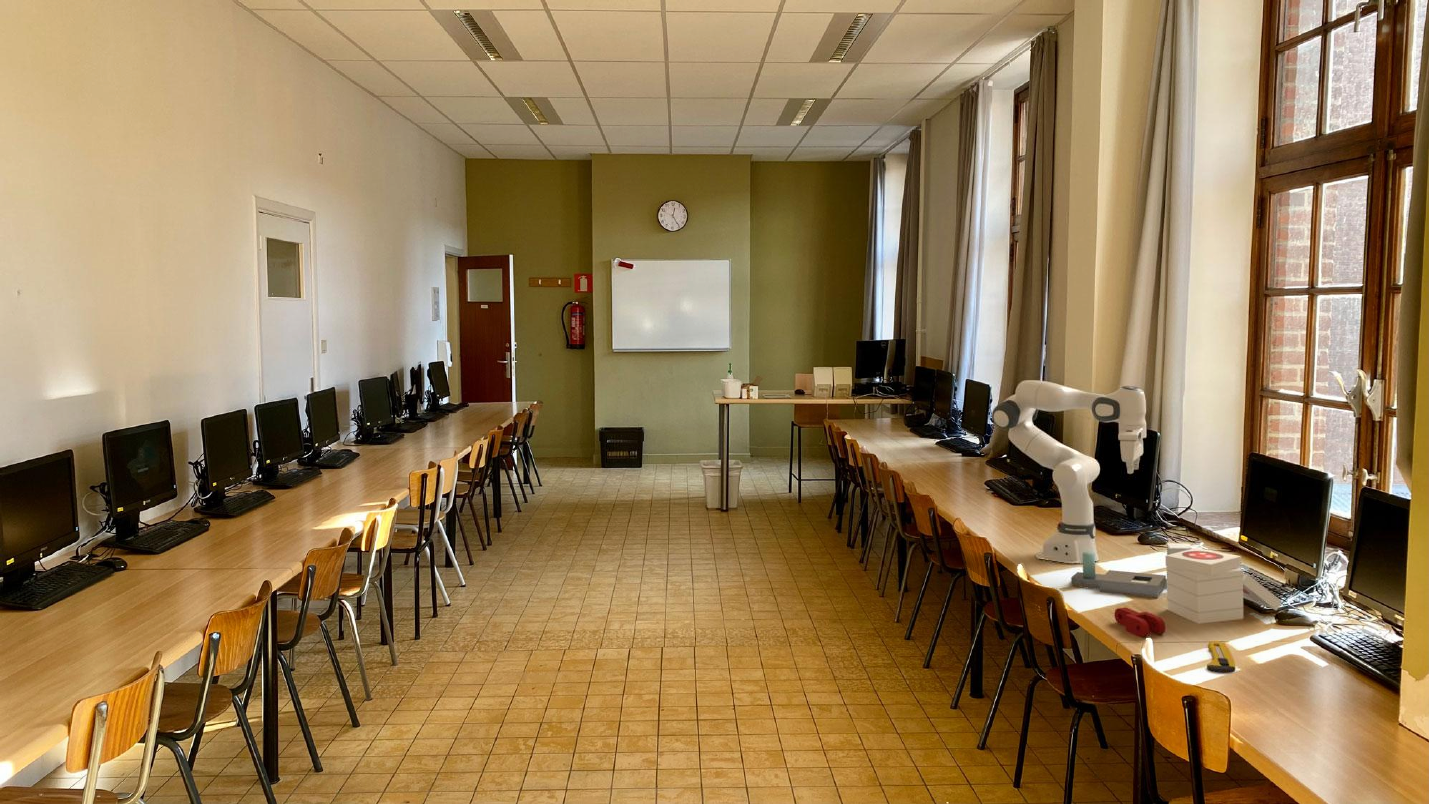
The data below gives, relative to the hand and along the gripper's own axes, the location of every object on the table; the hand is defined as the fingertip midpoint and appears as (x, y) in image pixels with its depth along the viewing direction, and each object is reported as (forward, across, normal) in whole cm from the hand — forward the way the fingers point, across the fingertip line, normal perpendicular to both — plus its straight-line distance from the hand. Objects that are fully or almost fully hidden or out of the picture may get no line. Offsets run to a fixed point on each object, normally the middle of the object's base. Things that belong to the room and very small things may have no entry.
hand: (1133, 471), depth 334 cm
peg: (+34, +19, -11) cm, 41 cm away
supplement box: (+37, +4, +15) cm, 40 cm away
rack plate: (+37, +20, -2) cm, 42 cm away
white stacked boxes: (+37, +35, +31) cm, 60 cm away
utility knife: (+38, +78, +34) cm, 93 cm away
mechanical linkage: (+38, +62, +11) cm, 73 cm away
